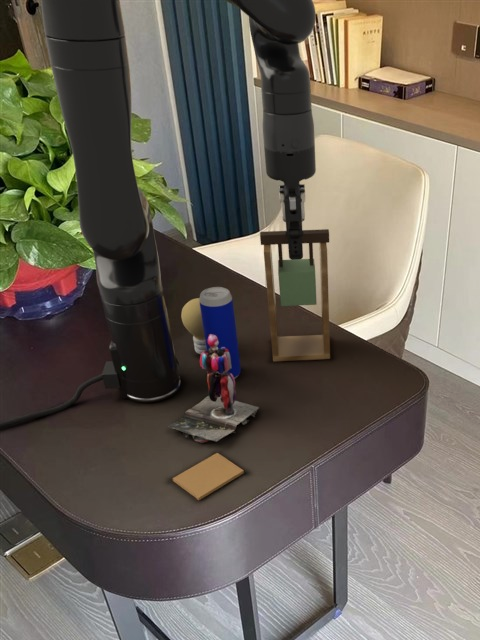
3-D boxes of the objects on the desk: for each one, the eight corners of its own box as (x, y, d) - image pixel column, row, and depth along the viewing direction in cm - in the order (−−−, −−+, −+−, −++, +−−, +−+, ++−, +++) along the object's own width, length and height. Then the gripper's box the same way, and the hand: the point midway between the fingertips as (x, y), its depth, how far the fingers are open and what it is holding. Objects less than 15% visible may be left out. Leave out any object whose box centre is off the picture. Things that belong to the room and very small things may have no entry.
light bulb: (231, 348, 130) (224, 297, 123) (207, 364, 126) (199, 312, 119) (204, 339, 132) (196, 288, 126) (180, 354, 128) (171, 303, 122)
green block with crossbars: (265, 307, 121) (259, 239, 113) (266, 293, 124) (260, 227, 117) (331, 304, 121) (329, 237, 114) (329, 290, 125) (328, 225, 118)
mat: (199, 500, 98) (198, 497, 98) (172, 481, 102) (172, 478, 101) (244, 473, 103) (243, 470, 103) (217, 455, 106) (217, 452, 106)
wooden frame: (273, 361, 126) (263, 251, 114) (273, 341, 132) (264, 234, 119) (330, 359, 127) (327, 249, 114) (328, 339, 132) (324, 232, 119)
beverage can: (244, 367, 125) (234, 286, 115) (237, 383, 121) (227, 301, 111) (214, 365, 125) (203, 285, 116) (207, 382, 121) (194, 300, 112)
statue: (212, 404, 118) (205, 317, 110) (259, 419, 115) (256, 330, 107) (167, 432, 110) (157, 341, 102) (217, 449, 107) (210, 356, 98)
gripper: (264, 129, 112) (272, 231, 122) (263, 157, 101) (272, 267, 111) (312, 127, 112) (316, 230, 123) (316, 155, 101) (320, 265, 112)
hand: (295, 247), depth 117 cm, fingers open, 8 cm apart
